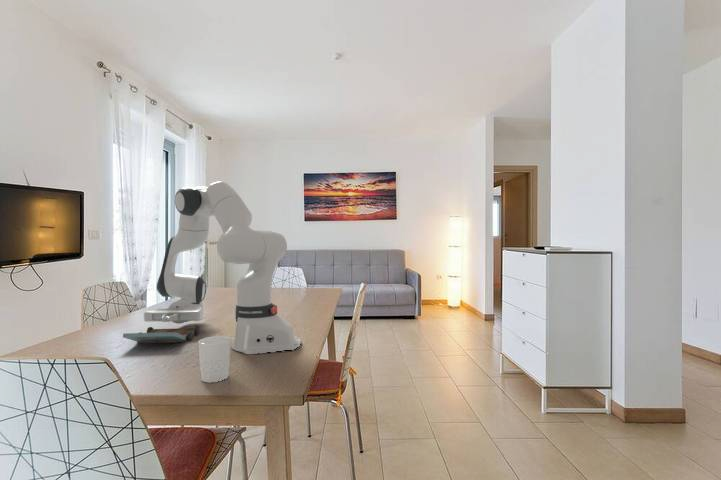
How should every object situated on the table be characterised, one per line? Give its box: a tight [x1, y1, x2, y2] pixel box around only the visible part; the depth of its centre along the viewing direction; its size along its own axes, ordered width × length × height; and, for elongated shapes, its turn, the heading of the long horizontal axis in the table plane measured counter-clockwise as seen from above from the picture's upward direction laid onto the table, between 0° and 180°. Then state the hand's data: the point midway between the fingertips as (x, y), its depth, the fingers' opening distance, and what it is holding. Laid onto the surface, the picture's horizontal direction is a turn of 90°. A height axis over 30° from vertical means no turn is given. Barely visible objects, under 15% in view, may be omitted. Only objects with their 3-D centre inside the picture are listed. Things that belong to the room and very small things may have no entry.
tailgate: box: [122, 332, 186, 343], centre depth 125 cm, size 16×2×10 cm
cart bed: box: [137, 325, 201, 344], centre depth 136 cm, size 18×12×3 cm, turn 96°
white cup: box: [197, 335, 232, 384], centre depth 97 cm, size 8×8×10 cm
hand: (165, 319), depth 134 cm, fingers closed
